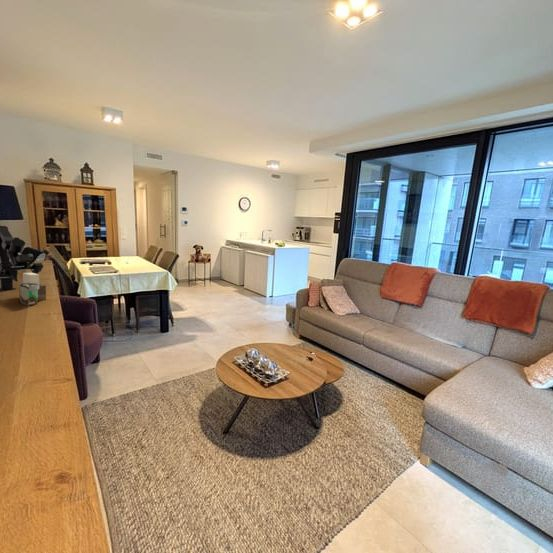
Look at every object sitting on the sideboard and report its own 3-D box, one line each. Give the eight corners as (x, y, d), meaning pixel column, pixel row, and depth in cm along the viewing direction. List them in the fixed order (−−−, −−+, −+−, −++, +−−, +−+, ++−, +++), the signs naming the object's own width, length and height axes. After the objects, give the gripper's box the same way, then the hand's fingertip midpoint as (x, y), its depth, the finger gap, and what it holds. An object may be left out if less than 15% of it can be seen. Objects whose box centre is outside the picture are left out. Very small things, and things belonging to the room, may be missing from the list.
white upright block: (23, 298, 163) (22, 273, 161) (32, 297, 166) (31, 272, 164) (31, 301, 159) (30, 275, 157) (39, 299, 162) (39, 274, 160)
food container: (44, 304, 154) (43, 285, 152) (29, 306, 148) (29, 286, 147) (34, 300, 160) (33, 281, 159) (19, 301, 155) (19, 282, 153)
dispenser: (19, 301, 157) (18, 286, 156) (41, 298, 165) (41, 284, 164) (23, 302, 154) (23, 287, 153) (46, 299, 163) (45, 285, 162)
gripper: (-1, 249, 155) (10, 272, 151) (41, 248, 171) (52, 270, 168) (-7, 262, 159) (4, 285, 156) (34, 261, 176) (45, 282, 172)
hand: (27, 280), depth 163 cm, fingers open, 9 cm apart
